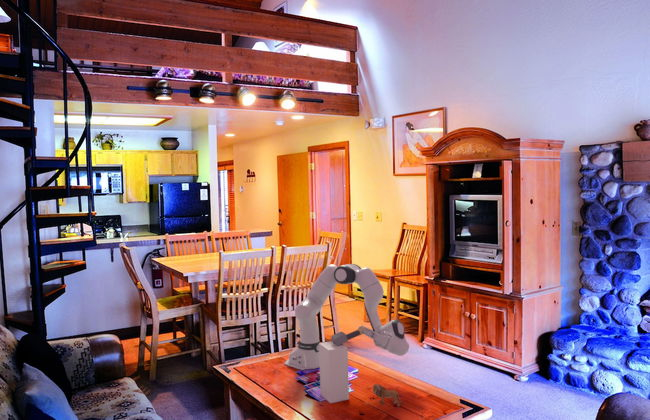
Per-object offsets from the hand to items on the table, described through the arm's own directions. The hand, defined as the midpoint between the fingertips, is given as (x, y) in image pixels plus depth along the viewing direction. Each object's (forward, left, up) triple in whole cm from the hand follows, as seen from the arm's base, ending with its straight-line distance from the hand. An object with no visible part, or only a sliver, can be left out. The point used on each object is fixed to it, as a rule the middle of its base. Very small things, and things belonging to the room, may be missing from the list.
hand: (361, 329), depth 252 cm
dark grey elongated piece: (-4, -5, -3) cm, 7 cm away
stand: (-9, -13, -32) cm, 35 cm away
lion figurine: (+17, -9, -32) cm, 37 cm away
